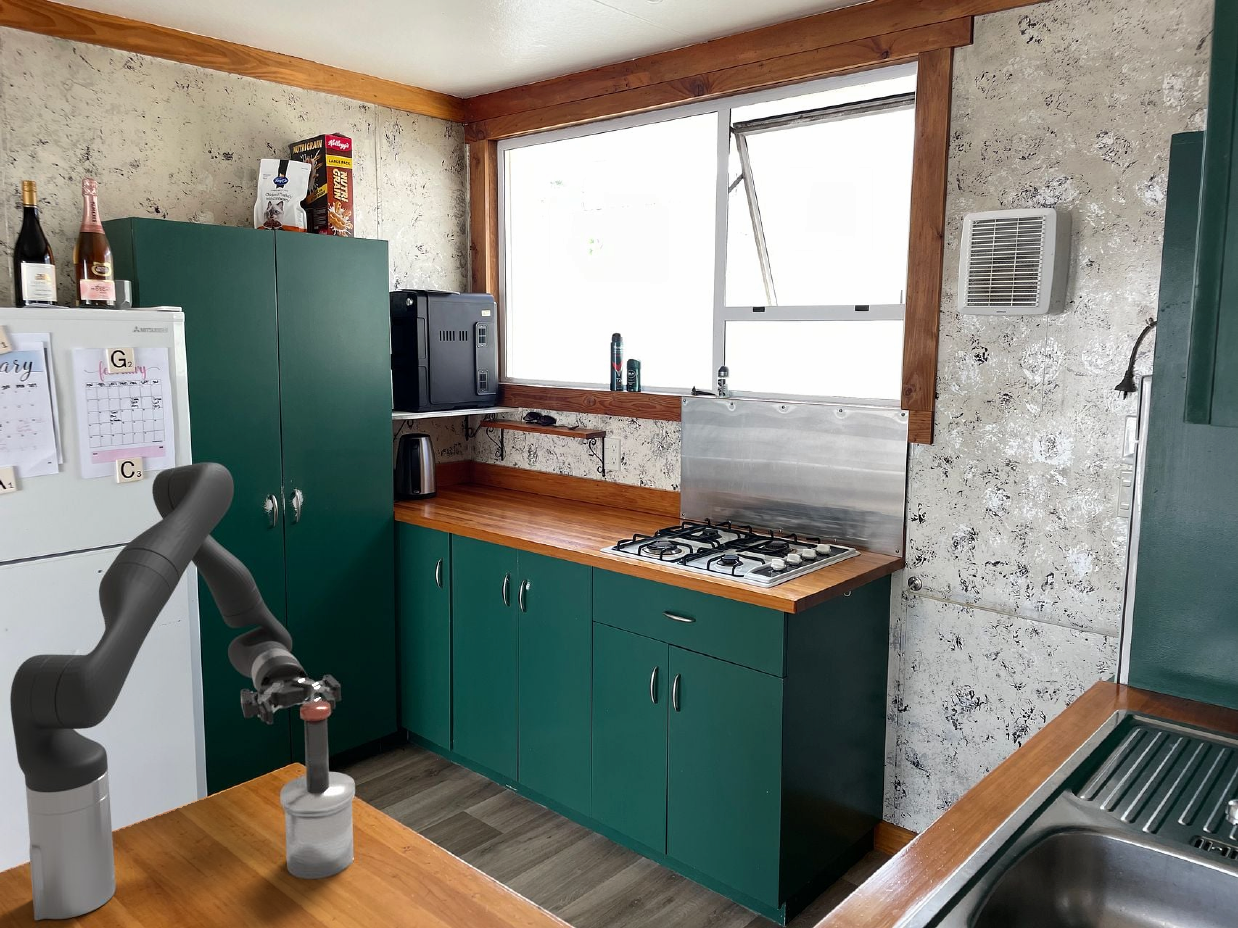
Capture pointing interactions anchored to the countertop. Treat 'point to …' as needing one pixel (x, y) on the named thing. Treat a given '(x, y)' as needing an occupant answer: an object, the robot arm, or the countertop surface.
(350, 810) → the pot
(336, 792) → the lid
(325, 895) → the countertop surface
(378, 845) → the countertop surface
